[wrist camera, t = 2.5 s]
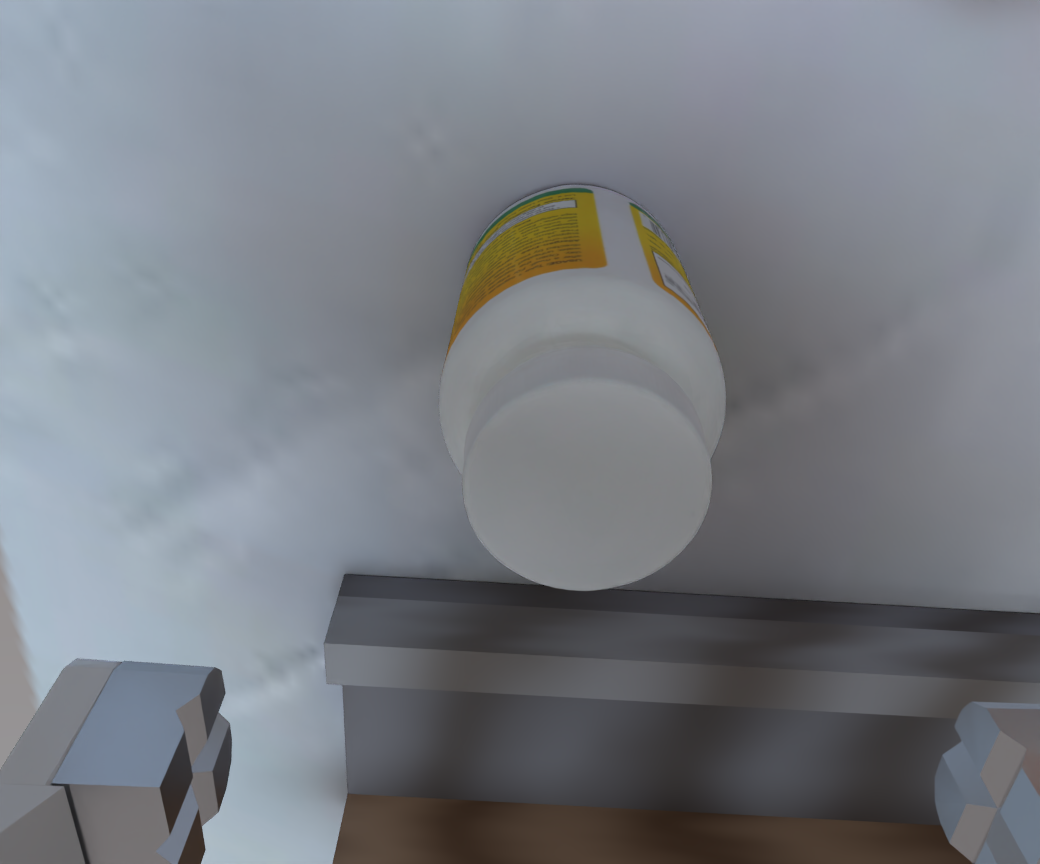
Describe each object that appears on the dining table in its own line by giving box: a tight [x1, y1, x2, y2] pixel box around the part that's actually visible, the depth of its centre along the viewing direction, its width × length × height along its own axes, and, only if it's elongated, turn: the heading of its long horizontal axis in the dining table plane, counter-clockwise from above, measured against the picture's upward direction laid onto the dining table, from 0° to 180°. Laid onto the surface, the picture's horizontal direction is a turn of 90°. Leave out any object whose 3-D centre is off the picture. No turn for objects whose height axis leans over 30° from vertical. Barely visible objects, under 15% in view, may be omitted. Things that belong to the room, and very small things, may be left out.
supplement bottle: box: [439, 185, 726, 591], centre depth 18 cm, size 5×5×10 cm
